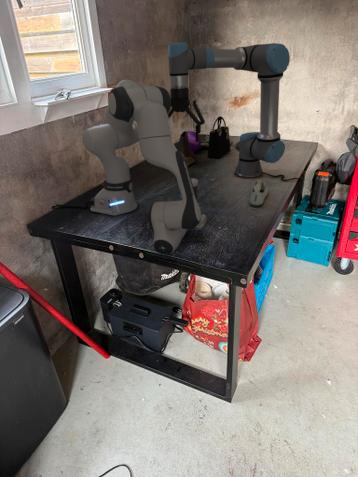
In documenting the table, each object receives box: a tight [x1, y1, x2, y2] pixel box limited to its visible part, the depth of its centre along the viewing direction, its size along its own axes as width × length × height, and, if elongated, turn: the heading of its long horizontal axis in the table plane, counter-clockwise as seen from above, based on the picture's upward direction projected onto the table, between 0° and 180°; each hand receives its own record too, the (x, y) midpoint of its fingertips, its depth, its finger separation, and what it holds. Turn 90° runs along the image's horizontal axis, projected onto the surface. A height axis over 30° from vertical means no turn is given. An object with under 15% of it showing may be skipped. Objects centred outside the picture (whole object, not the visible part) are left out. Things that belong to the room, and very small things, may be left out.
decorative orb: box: [178, 130, 202, 154], centre depth 230 cm, size 15×15×15 cm
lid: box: [191, 178, 199, 187], centre depth 142 cm, size 6×6×2 cm
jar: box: [193, 185, 198, 199], centre depth 145 cm, size 5×5×15 cm
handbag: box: [206, 115, 231, 159], centre depth 220 cm, size 21×9×25 cm, turn 148°
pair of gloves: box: [198, 134, 234, 150], centre depth 250 cm, size 30×26×5 cm
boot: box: [178, 130, 197, 167], centre depth 209 cm, size 9×24×20 cm, turn 168°
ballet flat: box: [249, 179, 269, 207], centre depth 158 cm, size 8×24×8 cm, turn 163°
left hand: (185, 211), depth 137 cm, fingers open, 8 cm apart
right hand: (181, 141), depth 142 cm, fingers open, 13 cm apart
